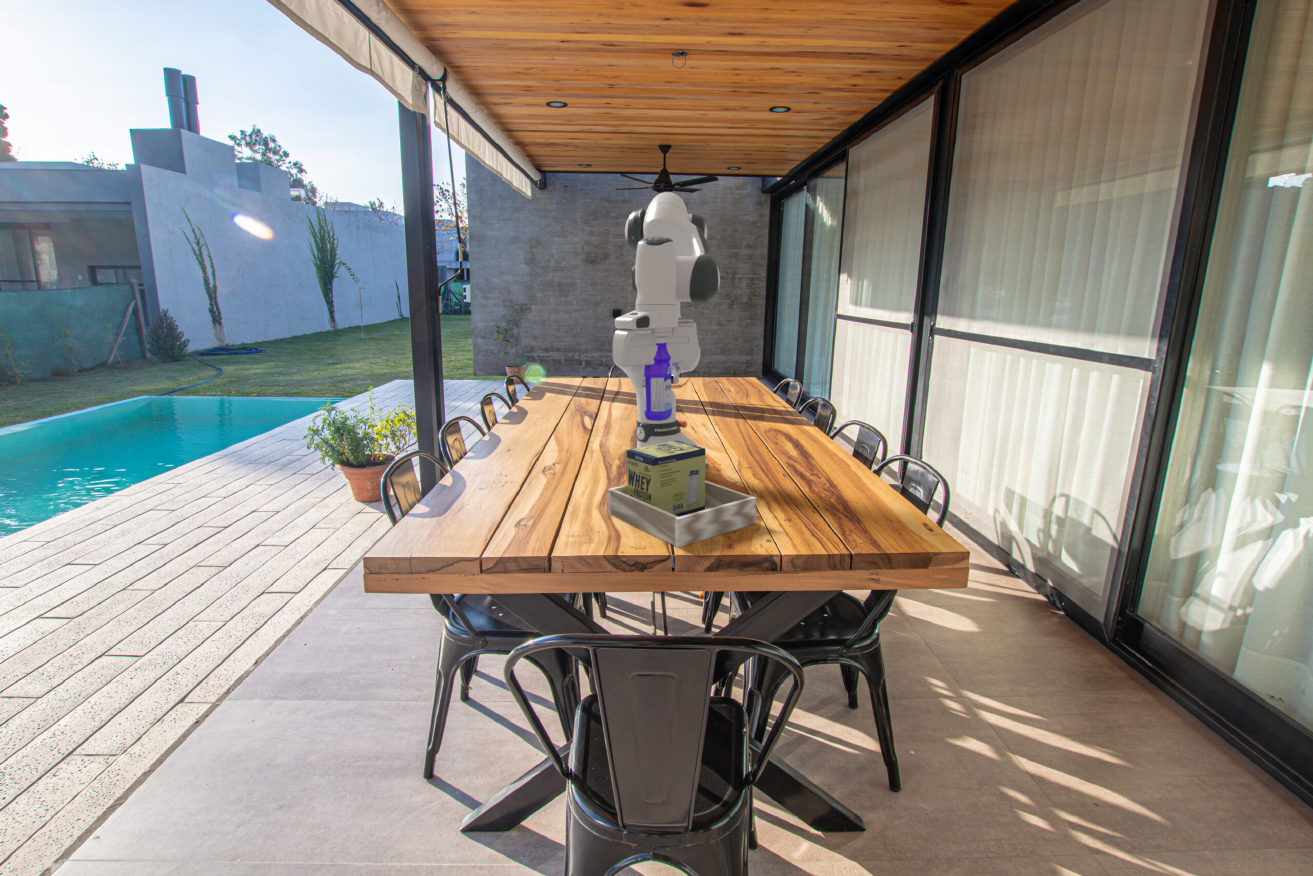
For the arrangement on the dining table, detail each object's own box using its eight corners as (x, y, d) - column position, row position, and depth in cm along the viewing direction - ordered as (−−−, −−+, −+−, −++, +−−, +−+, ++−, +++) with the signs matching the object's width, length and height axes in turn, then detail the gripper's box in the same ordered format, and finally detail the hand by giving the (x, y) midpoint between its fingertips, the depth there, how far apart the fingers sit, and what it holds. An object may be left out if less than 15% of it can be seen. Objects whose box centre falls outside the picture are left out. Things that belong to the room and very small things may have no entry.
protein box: (626, 514, 149) (625, 449, 145) (678, 500, 158) (678, 439, 155) (653, 526, 141) (652, 458, 137) (706, 511, 150) (707, 447, 146)
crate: (681, 495, 162) (681, 472, 161) (755, 523, 142) (756, 497, 140) (608, 513, 149) (607, 489, 148) (678, 547, 129) (678, 519, 128)
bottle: (668, 422, 133) (667, 337, 129) (641, 421, 134) (639, 337, 130) (674, 415, 140) (674, 335, 136) (649, 414, 141) (647, 335, 137)
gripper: (686, 316, 140) (686, 379, 144) (607, 319, 129) (609, 388, 132) (705, 317, 135) (705, 382, 139) (624, 320, 124) (626, 391, 127)
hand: (657, 385), depth 135 cm, fingers closed on bottle, 7 cm apart
